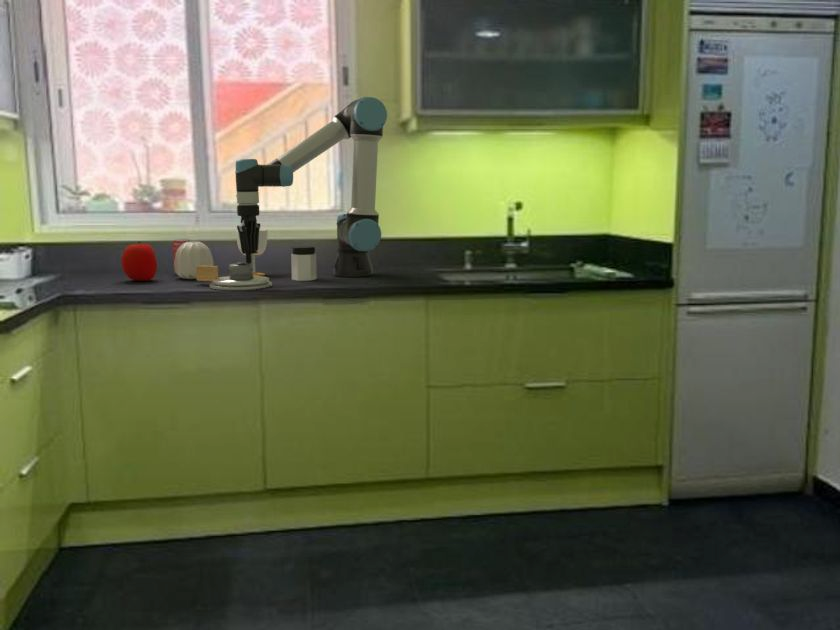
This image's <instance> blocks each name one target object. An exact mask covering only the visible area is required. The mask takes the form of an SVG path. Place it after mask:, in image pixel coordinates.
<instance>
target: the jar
mask: <svg viewBox="0 0 840 630" xmlns="http://www.w3.org/2000/svg"><path fill="white" fill-rule="evenodd" d="M291 250H292V251H291V255H290V257H291V261H290V263H291V265H290V266H291V280H292V281H298V282H309V281H310V282H311V281H316V280H317V254H316V248H315V246H314V245H295V246H294V245H293V246H292V248H291Z"/></svg>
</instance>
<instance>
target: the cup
mask: <svg viewBox="0 0 840 630" xmlns="http://www.w3.org/2000/svg"><path fill="white" fill-rule="evenodd" d="M235 236H236V243H237V247H238V250H239V252H240V253H241V254H242V255H243V256H244V257H246V254H243V253H242V249H241V243H240V237H239V232H238V229H236V230H235ZM267 245H268V229H267V228H266V229H265V228H260V229H259V242H258V252H257V253H254V254H255V259H256V258H257V257H260V256H262V255H263V254H264V252H265V251H266V249H267ZM265 275H266V273H263V272H256V271H255V272H254V273H253V276H263V277H264V276H265Z"/></svg>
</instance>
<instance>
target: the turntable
mask: <svg viewBox="0 0 840 630" xmlns="http://www.w3.org/2000/svg"><path fill="white" fill-rule="evenodd" d="M196 276H197V279H196V281H198V282H199V281H201V282H202V281H203V282H211V283H212V284H214V285H218V286H255V285H262V284H267V283H269V281H270V278H269V277H267V276H264V275H263V276H253V279H252V280H241V281H237V280H230V276H229V275H227V276H226V275H225V276H219V266H218V265H214V266H204V265H199V266H196Z"/></svg>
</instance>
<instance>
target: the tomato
mask: <svg viewBox="0 0 840 630" xmlns="http://www.w3.org/2000/svg"><path fill="white" fill-rule="evenodd" d="M137 242H138V243H136V242H135V243H132V244H129V245H128V246H127V247H125V249H124V251H123V252H122V254H121V260H120V262H121V269H122V270H123V272H124V274H125V275H126V276H127V278H129V279H130V280H132V281H136V282H137V281H138V282H139V281H140V282H141V281H142V282H144V281H145V282H148V281H151V280H152V279H154V278H155V276H156V273H157V268H158V263H157V257H156V256H157V255H156V254H155V251H154V249H153V247H152V246H151V245H150V243H145V242H144V243H143V242H142V243H141V241H137Z"/></svg>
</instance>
